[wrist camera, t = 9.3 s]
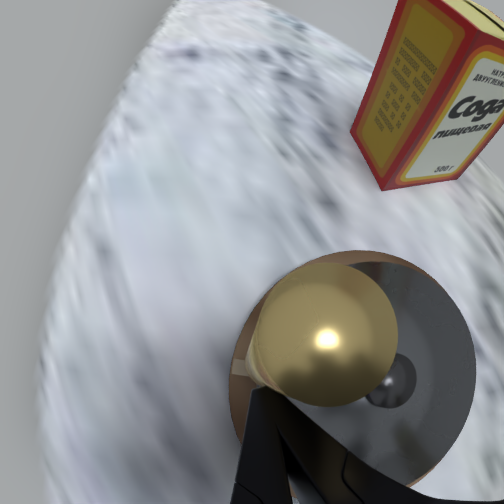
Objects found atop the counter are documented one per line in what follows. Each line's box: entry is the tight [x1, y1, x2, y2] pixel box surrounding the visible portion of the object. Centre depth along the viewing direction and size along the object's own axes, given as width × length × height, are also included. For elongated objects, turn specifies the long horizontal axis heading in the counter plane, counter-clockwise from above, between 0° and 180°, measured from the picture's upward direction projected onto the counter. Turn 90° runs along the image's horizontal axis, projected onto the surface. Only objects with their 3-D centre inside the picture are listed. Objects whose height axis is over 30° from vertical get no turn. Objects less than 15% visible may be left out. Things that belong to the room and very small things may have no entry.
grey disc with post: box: [245, 261, 476, 486], centre depth 11 cm, size 15×14×12 cm
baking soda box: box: [350, 0, 504, 191], centre depth 18 cm, size 10×6×16 cm
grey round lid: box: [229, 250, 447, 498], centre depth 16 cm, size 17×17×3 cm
